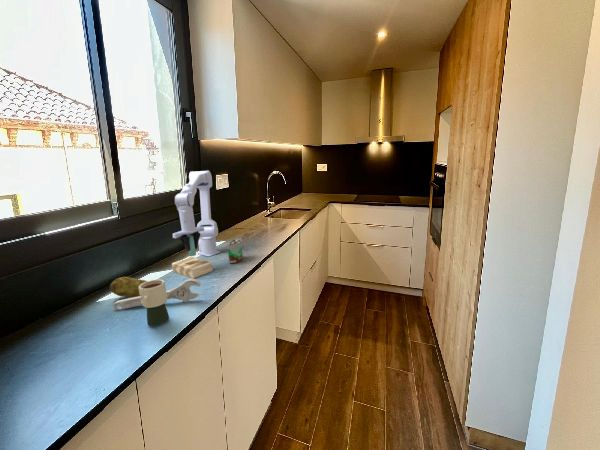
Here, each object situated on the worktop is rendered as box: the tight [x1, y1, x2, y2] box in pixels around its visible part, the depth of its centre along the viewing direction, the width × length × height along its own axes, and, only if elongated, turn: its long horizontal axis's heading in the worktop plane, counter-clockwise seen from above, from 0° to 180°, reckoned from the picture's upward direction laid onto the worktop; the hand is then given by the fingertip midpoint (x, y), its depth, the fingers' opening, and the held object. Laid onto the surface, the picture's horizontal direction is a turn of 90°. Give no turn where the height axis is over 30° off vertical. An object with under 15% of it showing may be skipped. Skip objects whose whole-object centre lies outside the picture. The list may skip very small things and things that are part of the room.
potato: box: [109, 276, 148, 299], centre depth 107 cm, size 8×13×8 cm, turn 98°
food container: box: [226, 237, 244, 265], centre depth 140 cm, size 12×6×10 cm, turn 179°
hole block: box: [171, 256, 214, 279], centre depth 130 cm, size 16×10×4 cm, turn 53°
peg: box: [187, 234, 197, 257], centre depth 128 cm, size 3×3×9 cm
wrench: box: [112, 278, 201, 311], centre depth 100 cm, size 8×2×30 cm
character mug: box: [139, 279, 170, 327], centre depth 88 cm, size 11×7×13 cm, turn 4°
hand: (191, 249), depth 129 cm, fingers closed on peg, 3 cm apart
